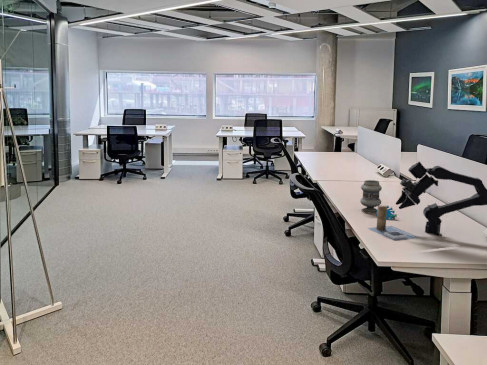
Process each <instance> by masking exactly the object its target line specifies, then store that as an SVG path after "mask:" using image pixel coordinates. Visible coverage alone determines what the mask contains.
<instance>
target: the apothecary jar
mask: <svg viewBox="0 0 487 365" xmlns="http://www.w3.org/2000/svg"><path fill="white" fill-rule="evenodd" d="M360 189H361V190H362V198H360V201H359V202H360V204H361V205H362V206H364V207H363V208H361V211H362V210H363V211H362V212H364V211H365V212H364V213H368V212H372V213H371V214H375V213H376V211H377V210H378V206H379V205H381V204H382V200H381V198H380V192H381V191H382V186H381V184H380V181H378V180H374V179H368V180H367V179H366V180H364V181H363V184H362V185H361V186H360ZM376 214H377V213H376Z"/></svg>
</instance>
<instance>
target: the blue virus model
mask: <svg viewBox="0 0 487 365" xmlns="http://www.w3.org/2000/svg"><path fill="white" fill-rule="evenodd" d="M386 206H387V215H386V221H389V220H391V221H392V220H393V219H394V220H395V219H396V218H397V216H398V215H397V214H396V213H395V210H393V207H390V206H389V205H386ZM376 212H377V213H376V214H375V215H376V217H377V214H378V209H377V211H376Z"/></svg>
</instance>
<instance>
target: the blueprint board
mask: <svg viewBox="0 0 487 365" xmlns="http://www.w3.org/2000/svg"><path fill="white" fill-rule="evenodd" d="M367 229H368V230H370V231H371V232H375V233H377V234H378V235H380V236H383V237H386V238H387V239H389V240H392V241H394V242H395V241H403V240H405V241H406V240H414V239H420V237H419V236H417V235H415V234H412V233H410V232H407V231H405V230H402V229H400V228H398V227H395V226H393V225H388V226H387V225H386V230H384V231H380V230H377V226H376V227H367ZM392 231H398V232H401V233H403V234H405V235H407V238H405V239H396V240H393V239H391V238H389V237H387V236H384V232H392ZM393 236H399V235H393Z"/></svg>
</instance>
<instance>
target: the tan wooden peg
mask: <svg viewBox="0 0 487 365" xmlns="http://www.w3.org/2000/svg"><path fill="white" fill-rule="evenodd" d="M387 206H388V205H383V204H382V205H381V204H380V205H379V206H377V210H378V213H376V214H377V216H376V227H377V230H380V231H384V230H386V226H387V220H386V219H387V218H386V215H387V209H388V208H387Z"/></svg>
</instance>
